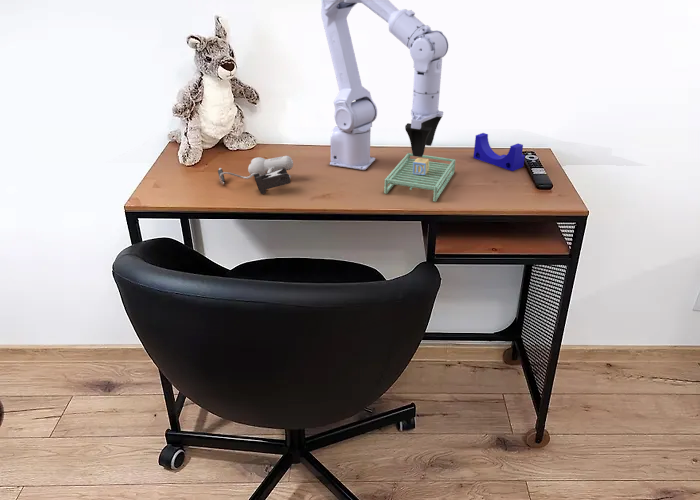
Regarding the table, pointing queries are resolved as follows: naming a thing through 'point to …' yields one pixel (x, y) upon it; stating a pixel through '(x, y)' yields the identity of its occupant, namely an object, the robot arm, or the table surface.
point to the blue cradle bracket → (508, 161)
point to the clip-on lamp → (266, 172)
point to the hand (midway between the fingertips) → (422, 150)
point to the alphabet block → (420, 166)
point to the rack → (402, 174)
